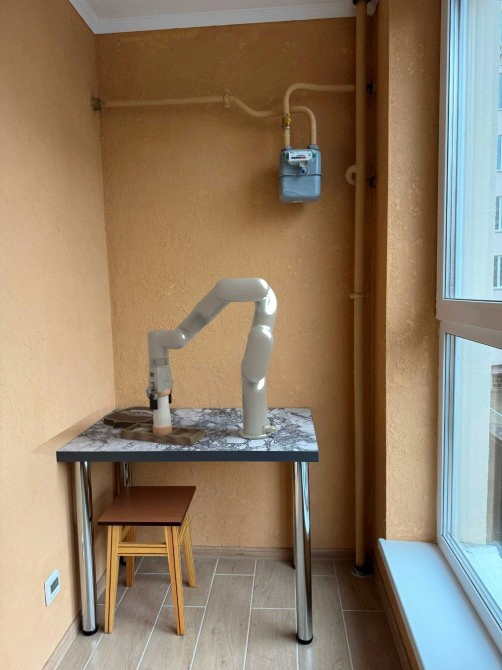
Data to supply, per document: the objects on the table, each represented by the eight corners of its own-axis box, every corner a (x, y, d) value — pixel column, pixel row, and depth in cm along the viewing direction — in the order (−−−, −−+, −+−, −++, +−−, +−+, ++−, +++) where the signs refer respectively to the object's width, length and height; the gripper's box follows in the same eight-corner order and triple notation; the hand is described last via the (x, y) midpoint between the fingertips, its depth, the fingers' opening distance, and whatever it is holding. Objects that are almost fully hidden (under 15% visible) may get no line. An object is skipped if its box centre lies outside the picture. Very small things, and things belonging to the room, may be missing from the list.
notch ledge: (205, 436, 178) (204, 429, 178) (190, 446, 168) (190, 438, 168) (137, 430, 190) (137, 422, 189) (120, 438, 180) (120, 430, 179)
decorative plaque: (185, 408, 212) (141, 426, 185) (185, 415, 212) (141, 434, 186) (135, 403, 226) (87, 419, 199) (135, 409, 226) (87, 425, 200)
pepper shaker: (156, 430, 183) (154, 383, 181) (174, 431, 182) (172, 382, 180) (150, 436, 176) (147, 386, 174) (169, 436, 175) (166, 386, 173)
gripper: (154, 366, 167) (156, 412, 168) (179, 359, 183) (181, 401, 184) (137, 365, 169) (139, 411, 171) (163, 358, 185) (165, 400, 187)
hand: (161, 406), depth 178 cm, fingers open, 9 cm apart
